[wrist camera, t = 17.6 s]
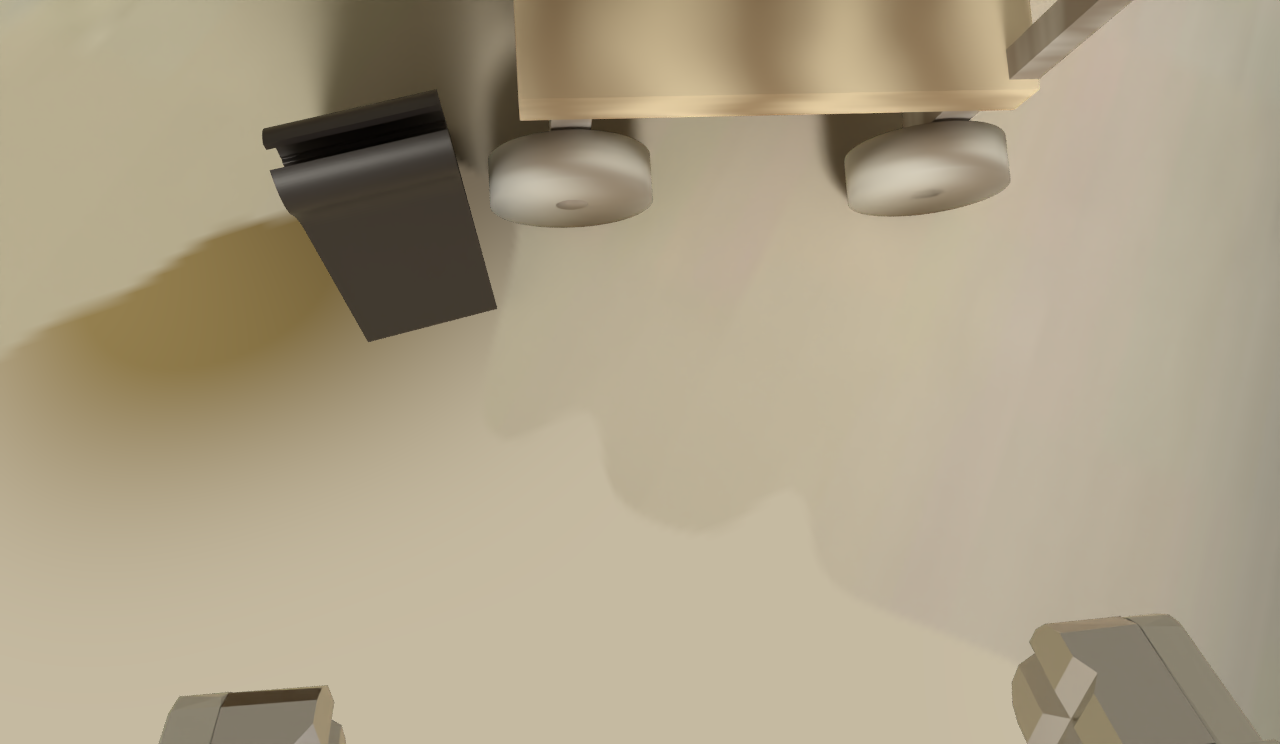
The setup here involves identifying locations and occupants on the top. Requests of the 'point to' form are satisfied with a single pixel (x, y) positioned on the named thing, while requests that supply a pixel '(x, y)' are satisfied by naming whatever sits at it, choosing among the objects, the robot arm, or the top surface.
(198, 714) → the robot arm
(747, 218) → the top surface
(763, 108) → the wheeled trolley
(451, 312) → the door stopper
